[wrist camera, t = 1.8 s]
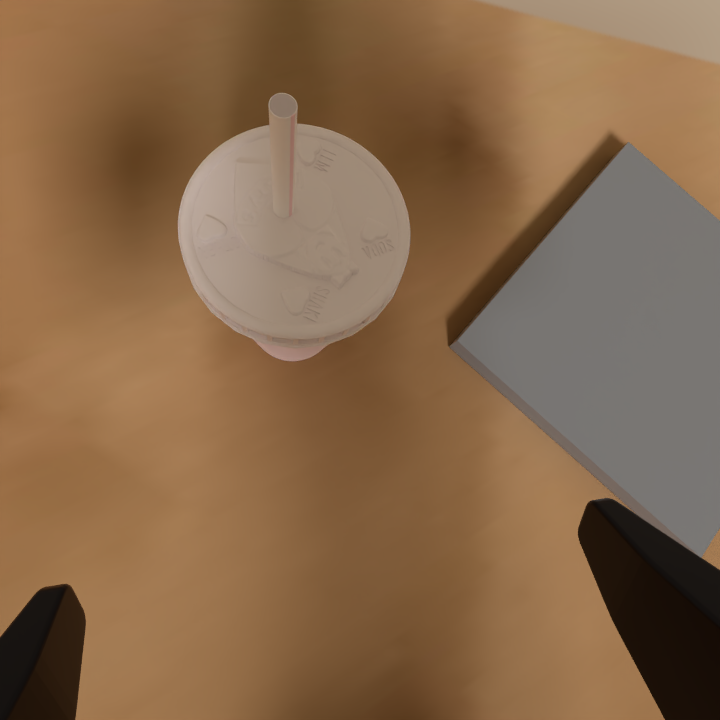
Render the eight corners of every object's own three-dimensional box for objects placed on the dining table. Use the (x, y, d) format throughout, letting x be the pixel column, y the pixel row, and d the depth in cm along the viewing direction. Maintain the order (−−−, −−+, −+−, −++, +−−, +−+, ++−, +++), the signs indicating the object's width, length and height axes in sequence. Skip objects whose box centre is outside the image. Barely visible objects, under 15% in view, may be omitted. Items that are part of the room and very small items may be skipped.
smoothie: (295, 226, 25) (308, -69, 11) (392, 324, 24) (528, 145, 11) (187, 316, 23) (49, 103, 10) (290, 422, 23) (298, 358, 9)
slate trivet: (820, 334, 27) (844, 328, 26) (681, 553, 24) (700, 557, 23) (614, 155, 28) (628, 141, 27) (448, 346, 25) (457, 340, 23)
